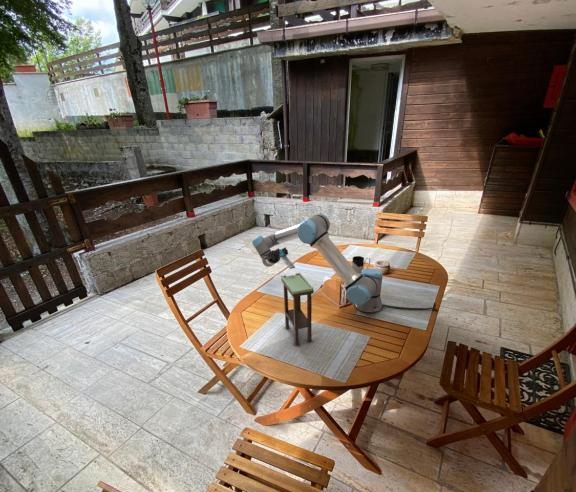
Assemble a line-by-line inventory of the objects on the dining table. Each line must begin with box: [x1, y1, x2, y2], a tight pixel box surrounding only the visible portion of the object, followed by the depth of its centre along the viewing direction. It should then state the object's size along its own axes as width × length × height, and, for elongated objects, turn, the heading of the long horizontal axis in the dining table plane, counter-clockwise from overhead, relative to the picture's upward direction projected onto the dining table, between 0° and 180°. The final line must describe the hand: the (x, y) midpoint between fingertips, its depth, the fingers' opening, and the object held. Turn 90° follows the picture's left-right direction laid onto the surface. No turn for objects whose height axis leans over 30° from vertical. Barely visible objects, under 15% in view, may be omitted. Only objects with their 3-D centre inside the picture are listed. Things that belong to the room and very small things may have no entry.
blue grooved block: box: [279, 248, 296, 270], centre depth 160 cm, size 24×3×1 cm, turn 18°
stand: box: [280, 278, 315, 346], centre depth 156 cm, size 18×10×30 cm, turn 18°
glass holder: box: [351, 255, 371, 273], centre depth 214 cm, size 9×14×15 cm, turn 113°
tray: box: [280, 272, 314, 294], centre depth 148 cm, size 18×10×1 cm, turn 18°
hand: (282, 250), depth 162 cm, fingers closed on blue grooved block, 3 cm apart
